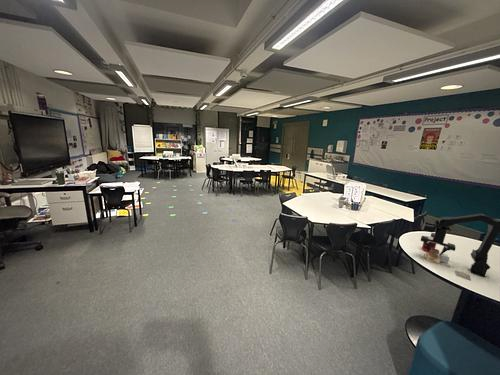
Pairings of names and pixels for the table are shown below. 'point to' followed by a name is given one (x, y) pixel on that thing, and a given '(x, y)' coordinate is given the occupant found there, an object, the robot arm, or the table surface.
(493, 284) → the table surface
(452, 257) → the table surface
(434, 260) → the oak base
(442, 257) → the grey block
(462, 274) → the card
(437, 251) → the walnut block
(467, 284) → the table surface
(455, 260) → the table surface
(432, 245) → the canned food
